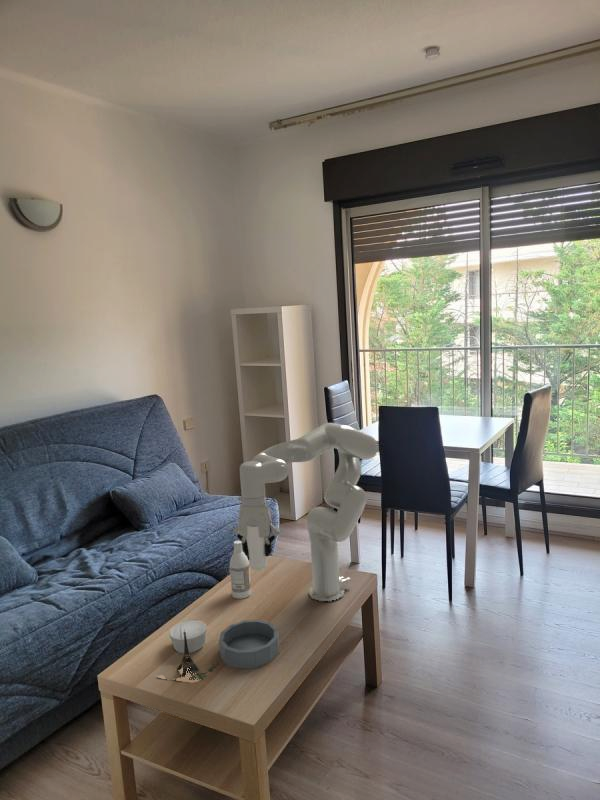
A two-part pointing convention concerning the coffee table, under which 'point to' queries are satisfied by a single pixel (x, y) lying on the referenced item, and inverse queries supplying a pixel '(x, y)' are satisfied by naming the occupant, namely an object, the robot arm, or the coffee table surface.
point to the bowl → (249, 644)
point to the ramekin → (189, 635)
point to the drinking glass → (256, 549)
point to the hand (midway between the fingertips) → (257, 553)
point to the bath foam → (240, 572)
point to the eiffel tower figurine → (191, 664)
